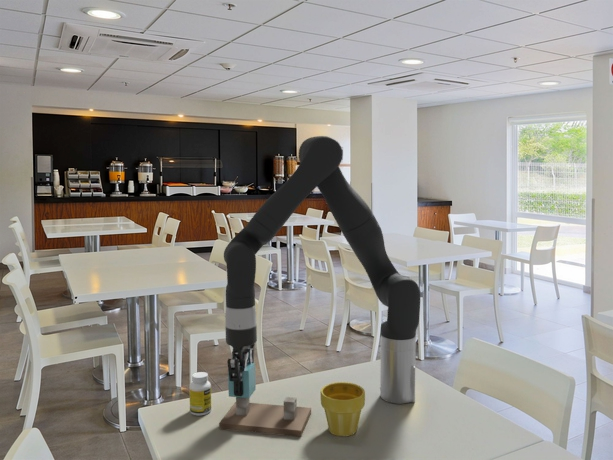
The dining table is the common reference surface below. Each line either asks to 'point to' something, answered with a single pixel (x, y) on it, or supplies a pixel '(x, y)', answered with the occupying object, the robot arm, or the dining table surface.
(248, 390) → the teal rectangular block
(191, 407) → the supplement bottle
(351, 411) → the plant pot
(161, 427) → the dining table surface
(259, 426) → the post board
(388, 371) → the robot arm
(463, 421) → the dining table surface
